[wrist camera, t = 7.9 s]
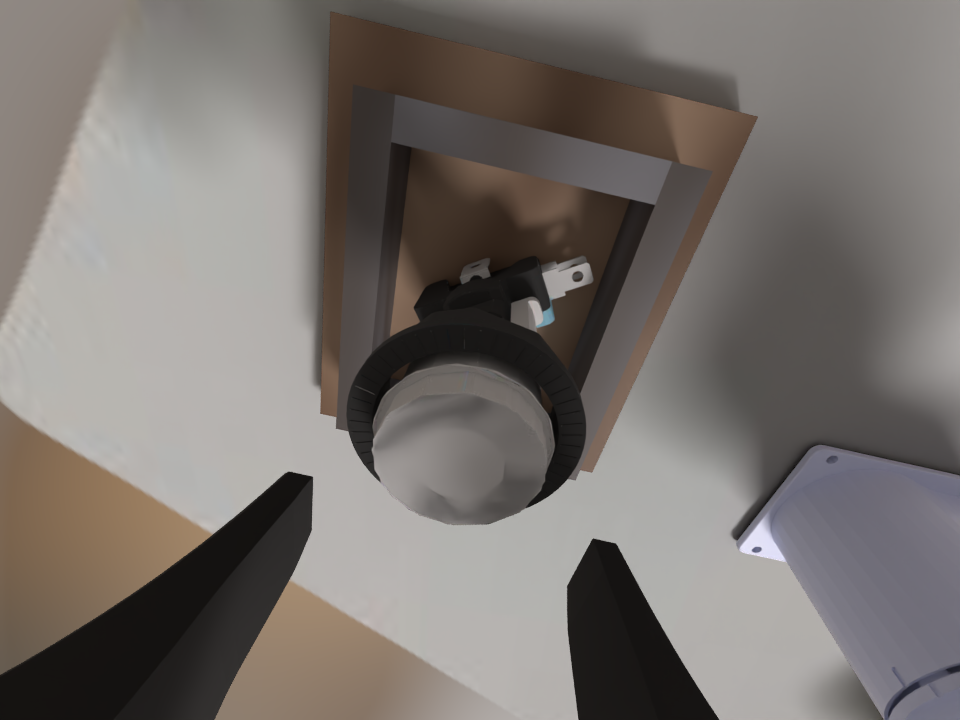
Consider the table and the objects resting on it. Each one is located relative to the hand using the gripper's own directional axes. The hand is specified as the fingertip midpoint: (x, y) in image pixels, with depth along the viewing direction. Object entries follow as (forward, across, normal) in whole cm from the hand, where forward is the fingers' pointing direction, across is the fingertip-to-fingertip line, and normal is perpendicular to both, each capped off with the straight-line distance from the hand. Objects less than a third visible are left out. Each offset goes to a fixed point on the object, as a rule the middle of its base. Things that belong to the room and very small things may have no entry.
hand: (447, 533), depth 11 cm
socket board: (+10, 0, -3) cm, 11 cm away
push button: (+9, 0, -4) cm, 10 cm away
